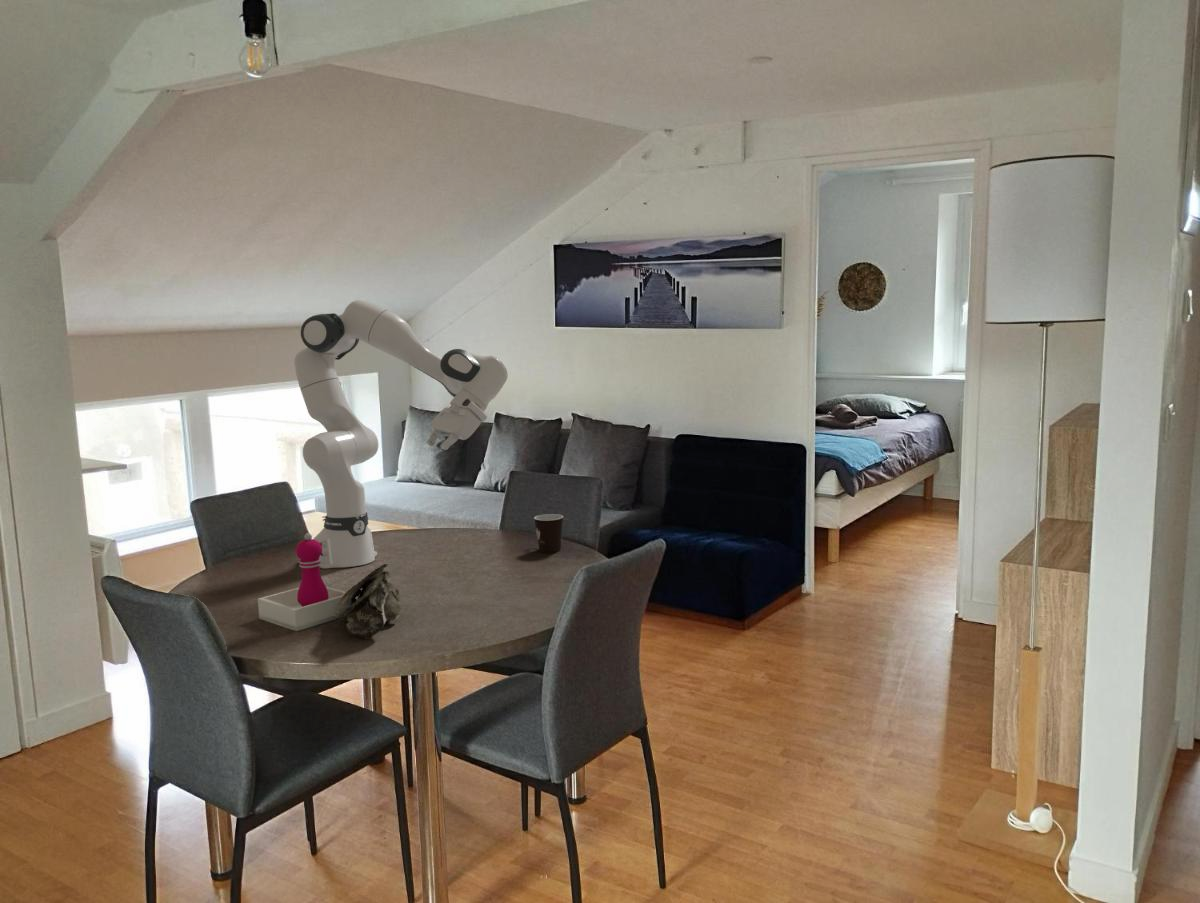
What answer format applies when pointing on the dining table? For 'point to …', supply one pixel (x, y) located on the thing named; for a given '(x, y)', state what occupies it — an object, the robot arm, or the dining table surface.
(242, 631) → the dining table surface
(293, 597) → the tray
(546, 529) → the dark brown cup
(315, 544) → the pepper mill
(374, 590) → the hollow geode rock
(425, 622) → the dining table surface
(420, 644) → the dining table surface
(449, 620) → the dining table surface
